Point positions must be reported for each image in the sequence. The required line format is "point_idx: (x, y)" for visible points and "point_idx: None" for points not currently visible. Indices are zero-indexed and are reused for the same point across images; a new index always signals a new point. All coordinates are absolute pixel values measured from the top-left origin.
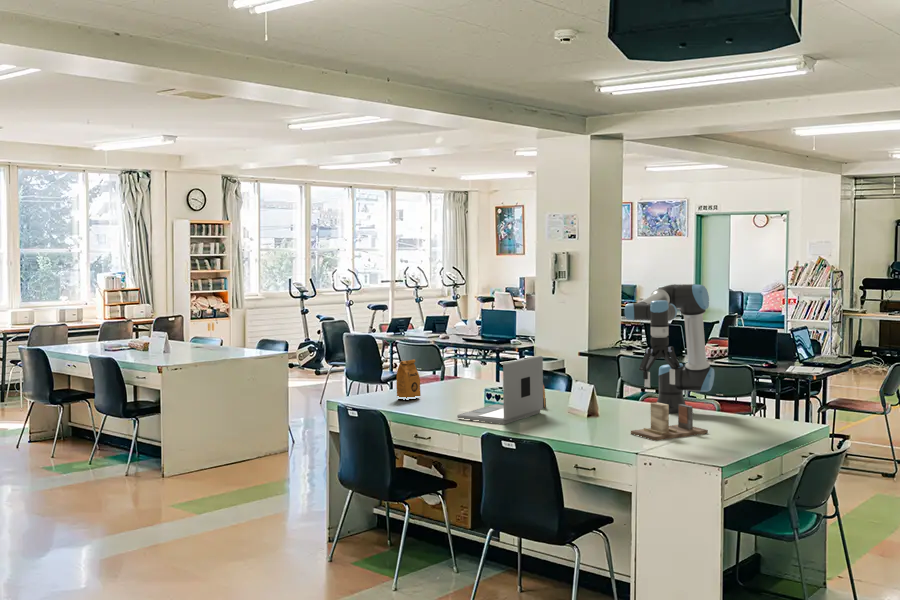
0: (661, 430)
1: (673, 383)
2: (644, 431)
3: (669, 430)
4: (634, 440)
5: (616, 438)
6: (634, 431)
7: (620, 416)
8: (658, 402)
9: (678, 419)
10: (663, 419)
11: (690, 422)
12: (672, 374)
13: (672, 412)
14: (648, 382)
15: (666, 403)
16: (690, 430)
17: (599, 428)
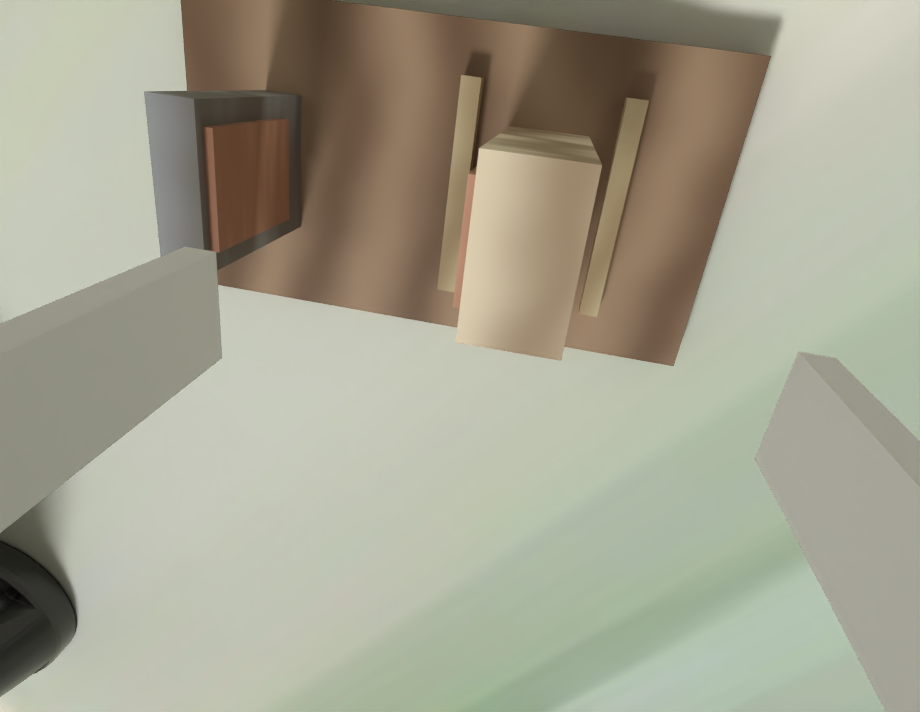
0: (589, 138)
1: (204, 265)
2: (624, 280)
3: (473, 153)
4: (867, 179)
5: (887, 322)
6: (680, 329)
7: (311, 672)
8: (30, 662)
9: (273, 237)
10: (567, 143)
11: (259, 93)
12: (82, 361)
13: (27, 559)
14: (883, 410)
15: (8, 622)
16: (310, 65)
17: (659, 581)
